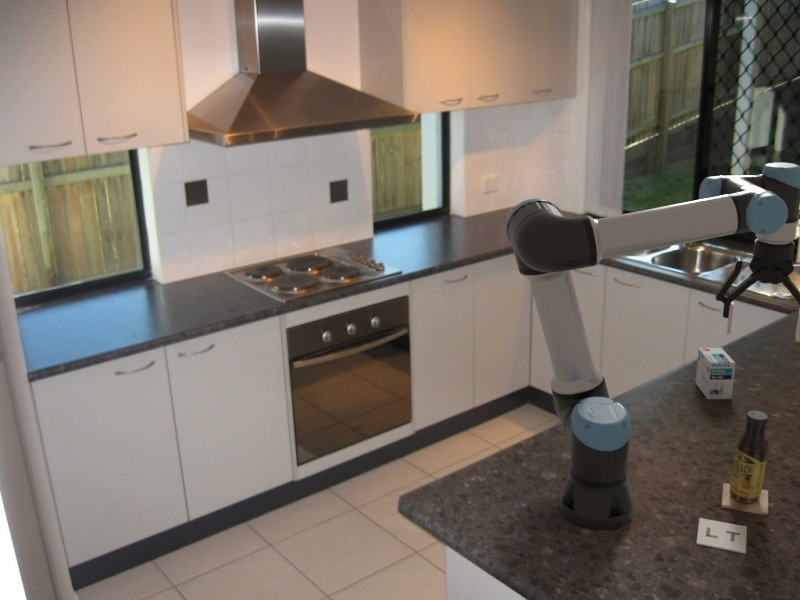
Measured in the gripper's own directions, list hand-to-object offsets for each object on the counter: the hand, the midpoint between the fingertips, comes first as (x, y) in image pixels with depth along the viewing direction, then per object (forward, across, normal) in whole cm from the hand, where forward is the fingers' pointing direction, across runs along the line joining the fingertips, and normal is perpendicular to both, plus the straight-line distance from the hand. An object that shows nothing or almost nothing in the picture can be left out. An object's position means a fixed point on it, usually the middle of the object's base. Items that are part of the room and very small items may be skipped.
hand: (762, 335), depth 181 cm
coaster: (+33, 0, +13) cm, 35 cm away
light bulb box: (+33, +9, -40) cm, 53 cm away
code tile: (+33, +4, +28) cm, 43 cm away
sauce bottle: (+32, 0, +13) cm, 35 cm away
